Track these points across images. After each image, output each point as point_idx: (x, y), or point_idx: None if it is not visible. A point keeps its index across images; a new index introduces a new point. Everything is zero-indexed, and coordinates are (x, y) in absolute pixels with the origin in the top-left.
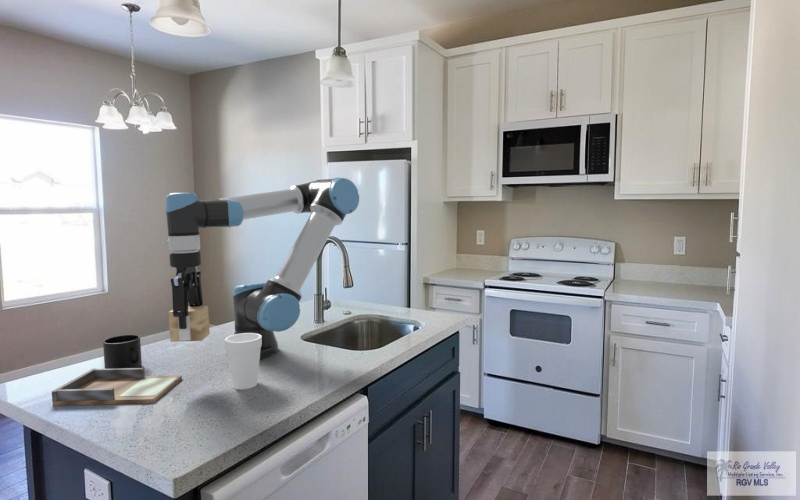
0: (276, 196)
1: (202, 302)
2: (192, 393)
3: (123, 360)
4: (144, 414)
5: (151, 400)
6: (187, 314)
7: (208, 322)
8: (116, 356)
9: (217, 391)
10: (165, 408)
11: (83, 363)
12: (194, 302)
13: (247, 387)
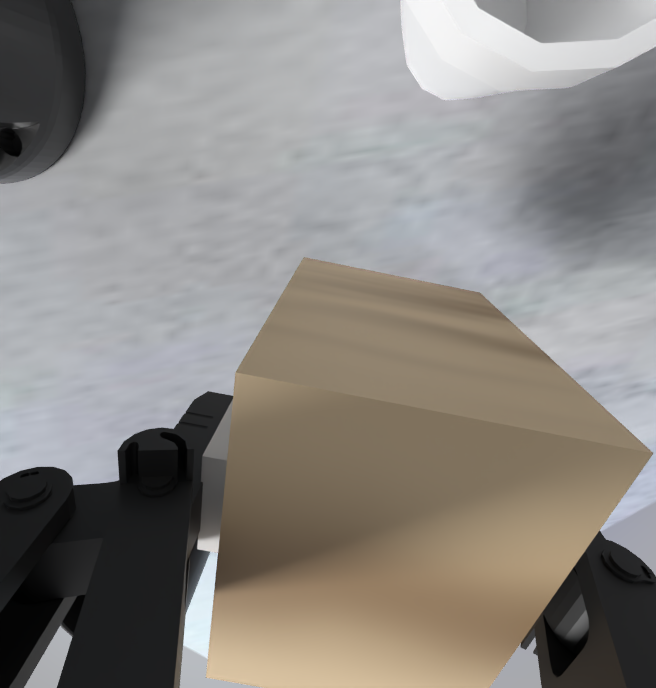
0: None
1: (12, 493)
2: (478, 270)
3: (196, 545)
4: (607, 385)
5: None
6: (621, 556)
7: (303, 288)
8: (196, 575)
9: (497, 167)
10: (588, 335)
11: None
12: (183, 610)
13: (526, 4)
